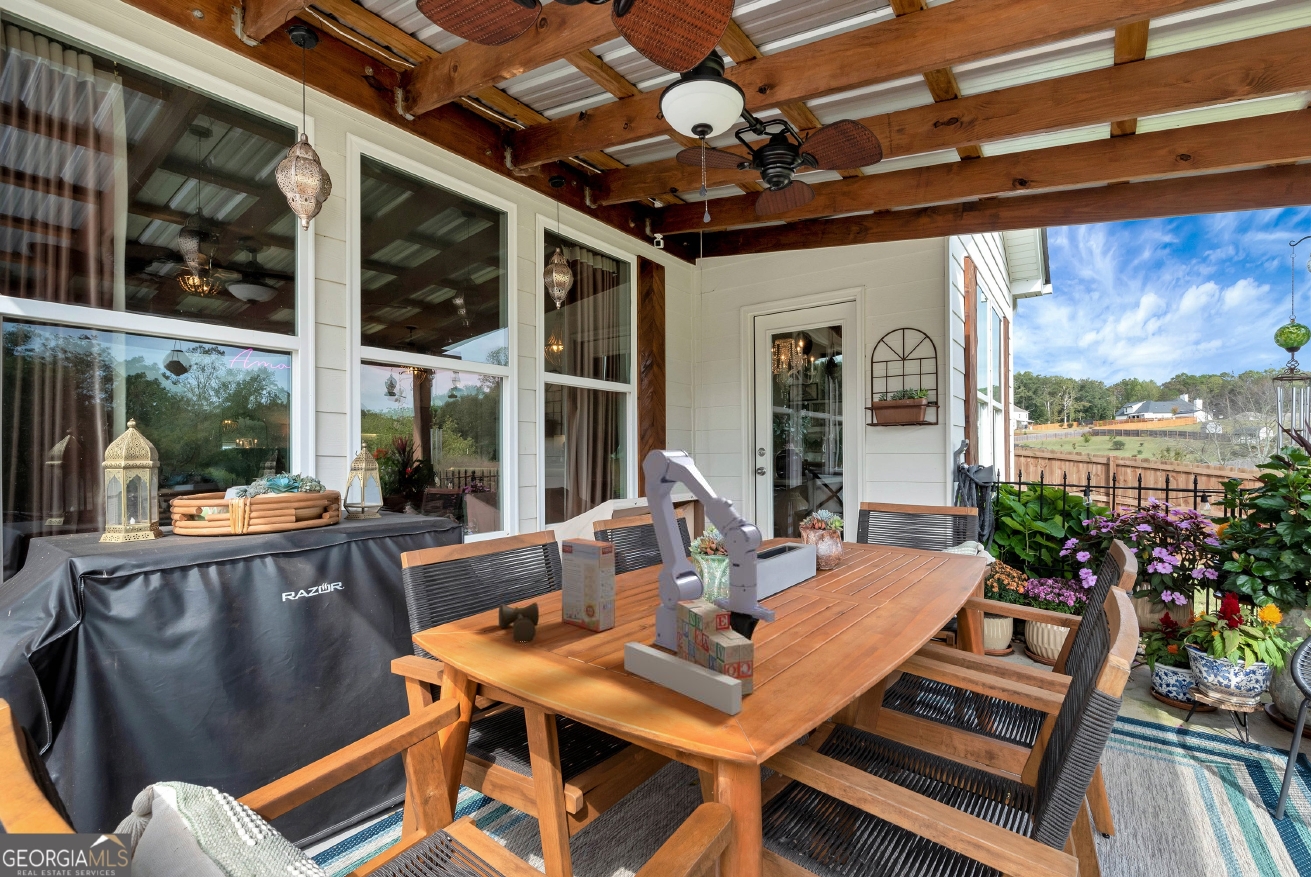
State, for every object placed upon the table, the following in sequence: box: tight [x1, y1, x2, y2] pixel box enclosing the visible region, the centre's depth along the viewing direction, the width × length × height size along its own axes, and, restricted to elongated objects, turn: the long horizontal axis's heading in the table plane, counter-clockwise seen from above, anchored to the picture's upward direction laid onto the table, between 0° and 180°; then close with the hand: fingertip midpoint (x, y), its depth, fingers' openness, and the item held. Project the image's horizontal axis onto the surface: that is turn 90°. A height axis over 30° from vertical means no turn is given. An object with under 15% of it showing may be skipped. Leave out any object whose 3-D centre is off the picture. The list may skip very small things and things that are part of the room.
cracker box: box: [561, 537, 616, 633], centre depth 149 cm, size 14×6×21 cm, turn 48°
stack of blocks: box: [676, 598, 755, 696], centre depth 117 cm, size 21×6×12 cm, turn 21°
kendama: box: [498, 602, 540, 643], centre depth 145 cm, size 6×10×20 cm
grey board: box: [623, 640, 743, 716], centre depth 110 cm, size 28×2×5 cm, turn 43°
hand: (743, 649), depth 123 cm, fingers closed
